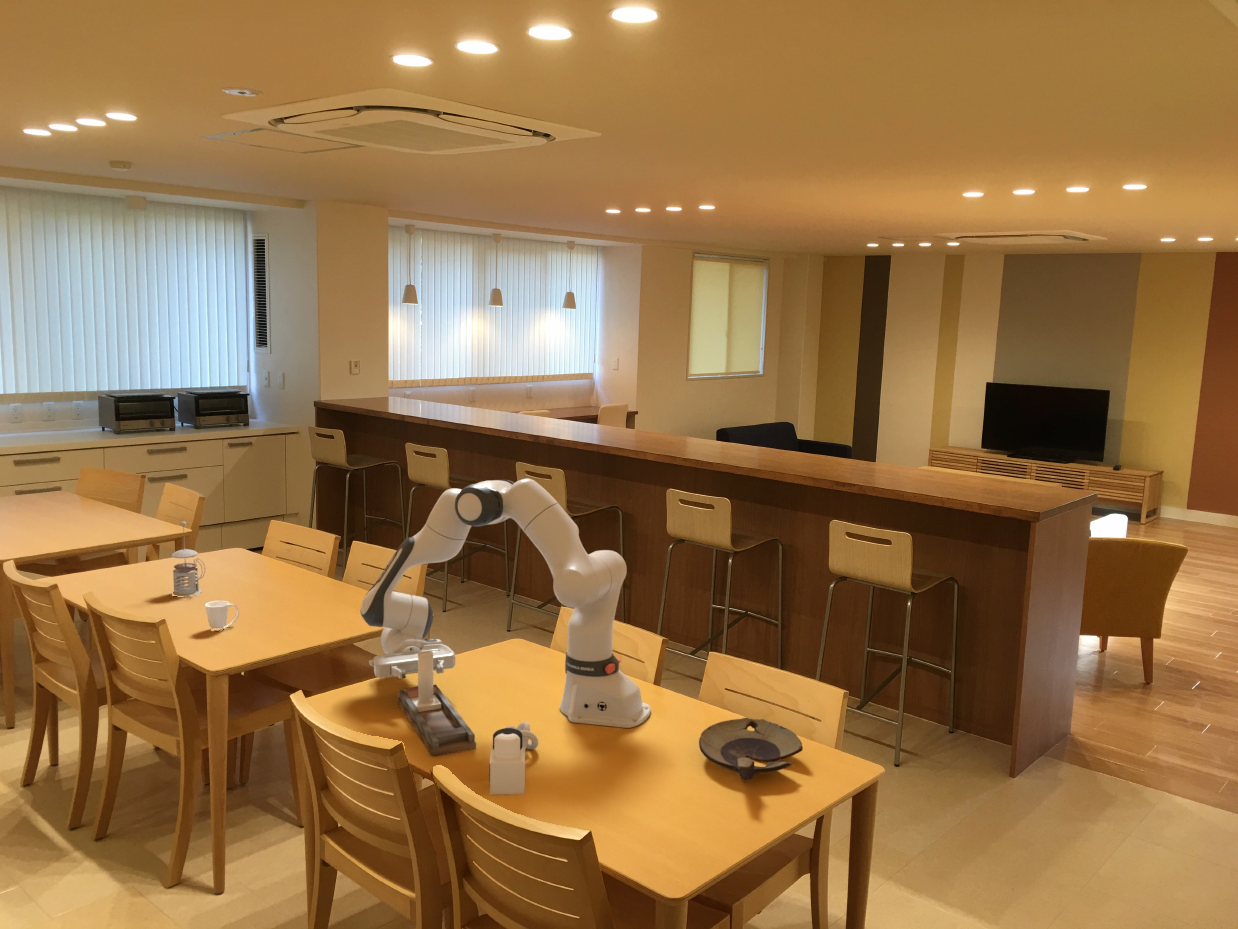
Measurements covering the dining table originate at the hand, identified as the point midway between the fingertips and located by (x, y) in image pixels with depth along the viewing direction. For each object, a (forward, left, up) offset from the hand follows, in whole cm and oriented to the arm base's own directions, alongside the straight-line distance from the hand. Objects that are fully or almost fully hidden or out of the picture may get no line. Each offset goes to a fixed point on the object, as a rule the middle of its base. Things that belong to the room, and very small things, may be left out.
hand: (422, 673), depth 237 cm
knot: (-33, +10, -9) cm, 36 cm away
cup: (+88, -26, -9) cm, 92 cm away
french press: (+125, -49, -9) cm, 134 cm away
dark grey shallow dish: (-80, -3, -9) cm, 81 cm away
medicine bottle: (-38, +26, -9) cm, 47 cm away
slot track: (-8, +7, -9) cm, 14 cm away
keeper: (-2, +2, -7) cm, 8 cm away
